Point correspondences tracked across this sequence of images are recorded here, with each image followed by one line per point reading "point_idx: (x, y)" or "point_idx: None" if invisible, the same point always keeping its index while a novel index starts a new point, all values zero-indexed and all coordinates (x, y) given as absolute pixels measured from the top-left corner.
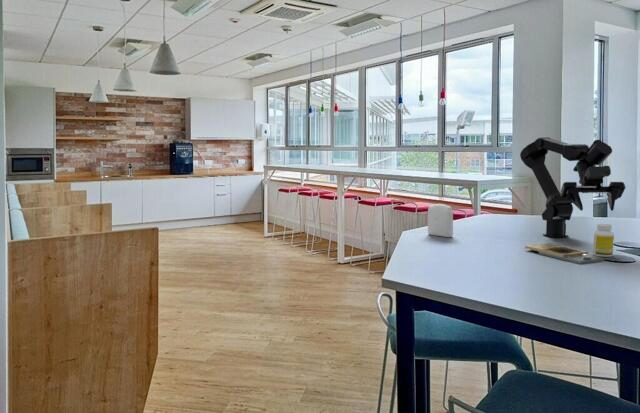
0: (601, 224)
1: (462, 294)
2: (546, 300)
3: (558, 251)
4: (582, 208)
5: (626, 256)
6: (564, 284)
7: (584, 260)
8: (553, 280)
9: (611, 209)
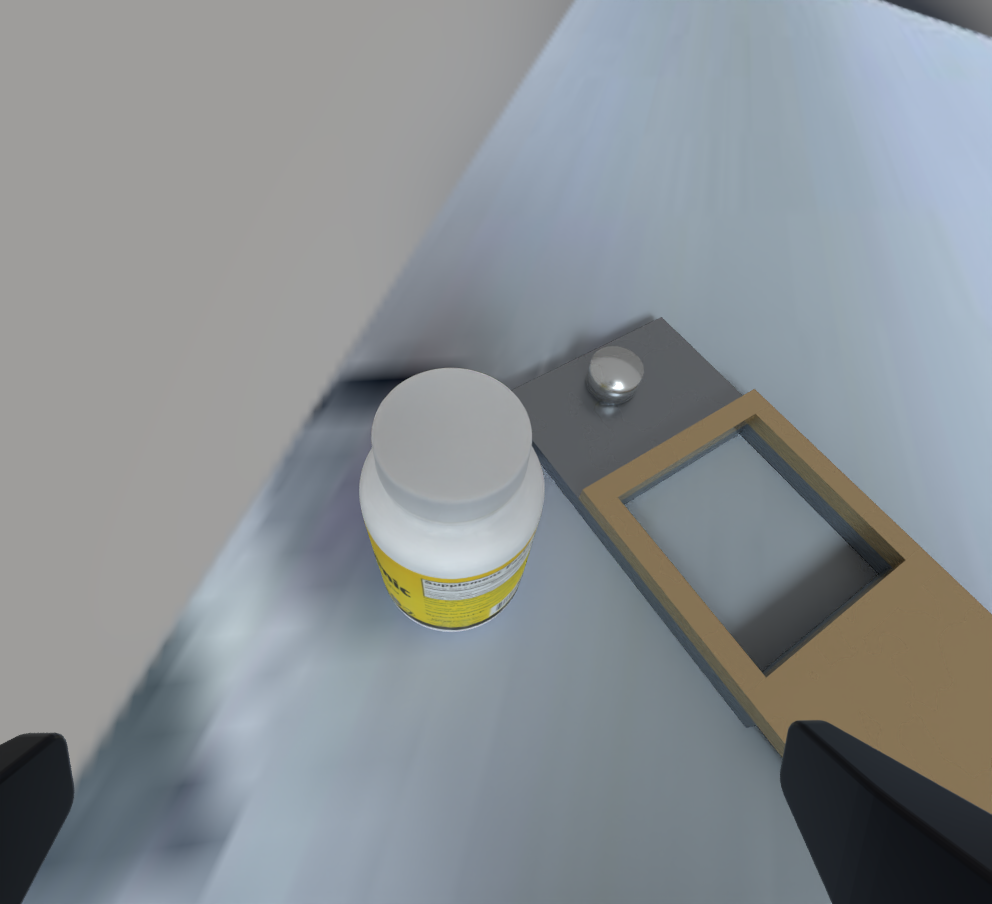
0: (482, 442)
1: (986, 44)
2: (779, 16)
3: (780, 657)
4: (805, 720)
5: (282, 549)
6: (736, 99)
7: (632, 336)
8: (772, 128)
9: (55, 802)
